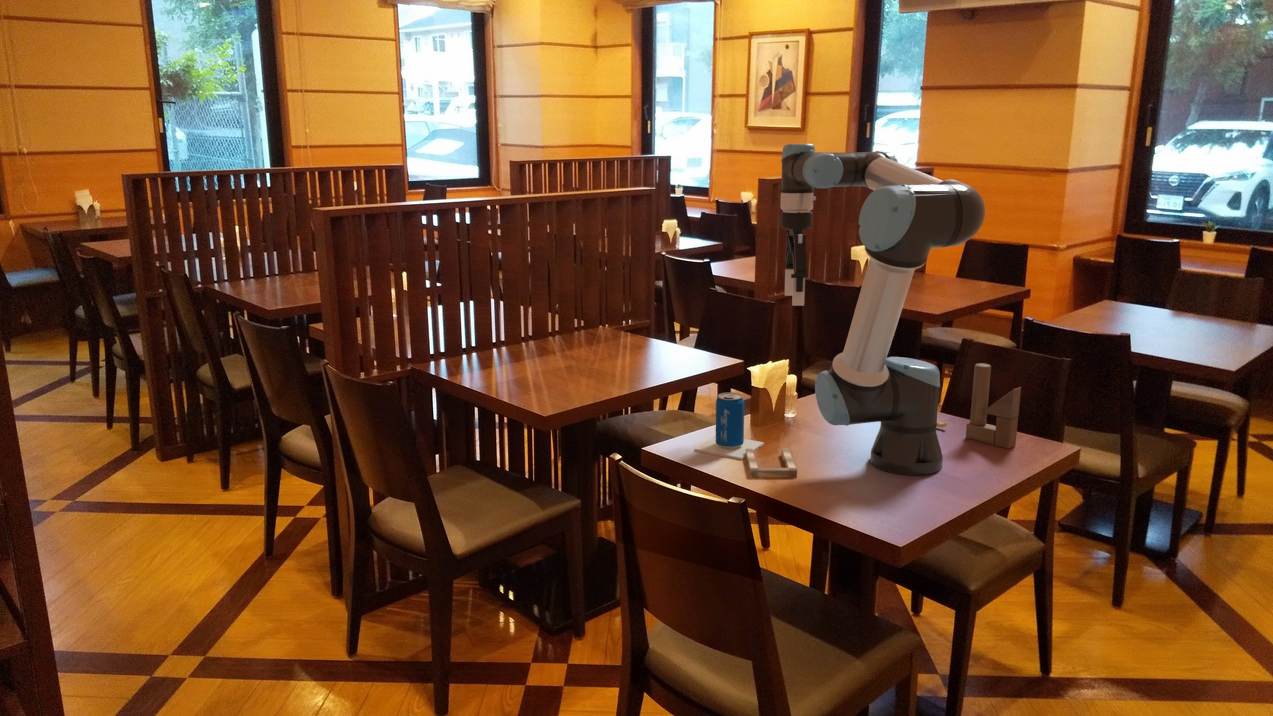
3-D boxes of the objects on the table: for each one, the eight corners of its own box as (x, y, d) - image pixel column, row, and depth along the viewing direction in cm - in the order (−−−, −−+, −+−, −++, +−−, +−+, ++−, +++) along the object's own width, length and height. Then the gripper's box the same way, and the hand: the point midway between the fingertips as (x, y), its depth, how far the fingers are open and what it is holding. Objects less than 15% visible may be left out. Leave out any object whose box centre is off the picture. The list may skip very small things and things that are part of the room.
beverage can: (711, 447, 206) (711, 397, 204) (721, 439, 212) (722, 390, 209) (737, 451, 203) (738, 401, 201) (747, 443, 209) (748, 393, 206)
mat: (763, 444, 210) (763, 442, 210) (741, 459, 200) (741, 457, 200) (717, 436, 216) (718, 434, 216) (694, 450, 206) (694, 448, 206)
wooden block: (1008, 449, 204) (1015, 373, 200) (964, 438, 212) (970, 364, 208) (1016, 445, 207) (1023, 370, 202) (973, 434, 215) (979, 362, 210)
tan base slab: (745, 454, 203) (745, 448, 203) (788, 454, 203) (788, 448, 202) (751, 477, 189) (751, 470, 189) (796, 477, 189) (797, 470, 189)
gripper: (821, 215, 198) (818, 309, 203) (804, 206, 222) (802, 291, 227) (787, 215, 198) (785, 309, 203) (774, 207, 222) (772, 291, 228)
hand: (794, 300), depth 215 cm, fingers open, 13 cm apart
